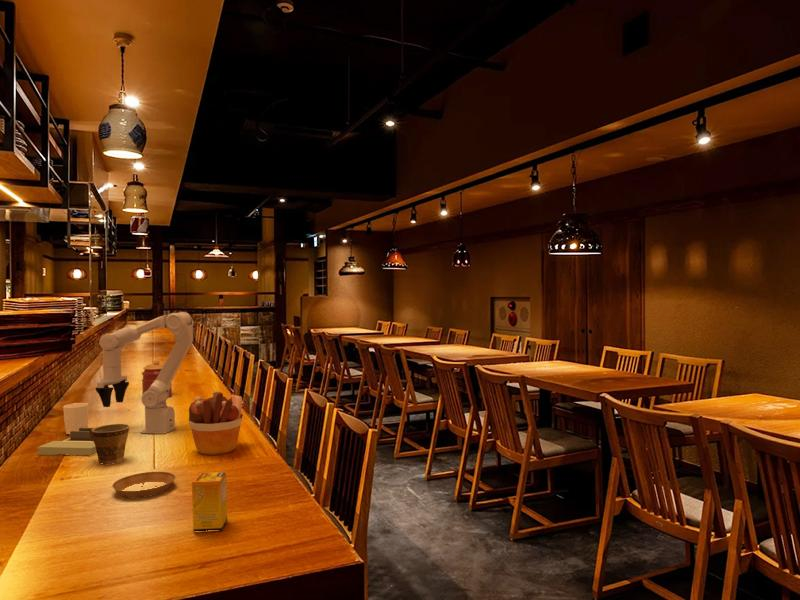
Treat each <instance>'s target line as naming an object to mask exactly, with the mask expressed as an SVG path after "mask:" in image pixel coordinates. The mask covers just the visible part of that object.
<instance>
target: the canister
mask: <svg viewBox="0 0 800 600" xmlns="http://www.w3.org/2000/svg"><path fill="white" fill-rule="evenodd" d="M164 364H165V363H160V361H159V359H154V360H153V363H152V364H151V363H150V364H147V365H146V366H144V367H143V368H142V369H144V370H143V372H141V375H142V379H141V384H142V386H141V387H142V388H141V389H142V393H141V394H142V395H143V393H144V392H145V391H147V390H148V389H149V388H150V386H151V385H152V383H153V382H154V381H155V380H156V379H157V377H158V375H159V373H160V371H161V369H162V367H163V365H164ZM170 385H171V388H170V390H169V397H168V398H171V397H172V395H173V389H172V383H171V384H170ZM142 395H141V396H142Z"/></svg>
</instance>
